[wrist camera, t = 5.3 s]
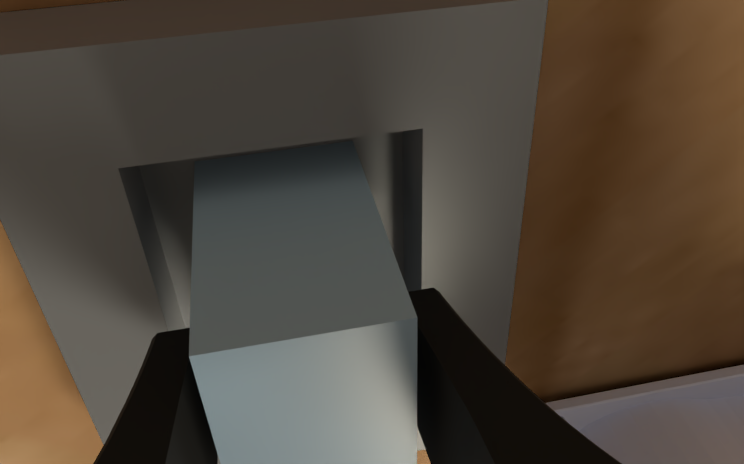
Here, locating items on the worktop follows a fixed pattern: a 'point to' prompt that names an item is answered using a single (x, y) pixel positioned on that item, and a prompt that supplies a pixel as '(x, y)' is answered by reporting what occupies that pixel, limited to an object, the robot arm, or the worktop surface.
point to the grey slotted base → (255, 149)
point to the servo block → (300, 313)
